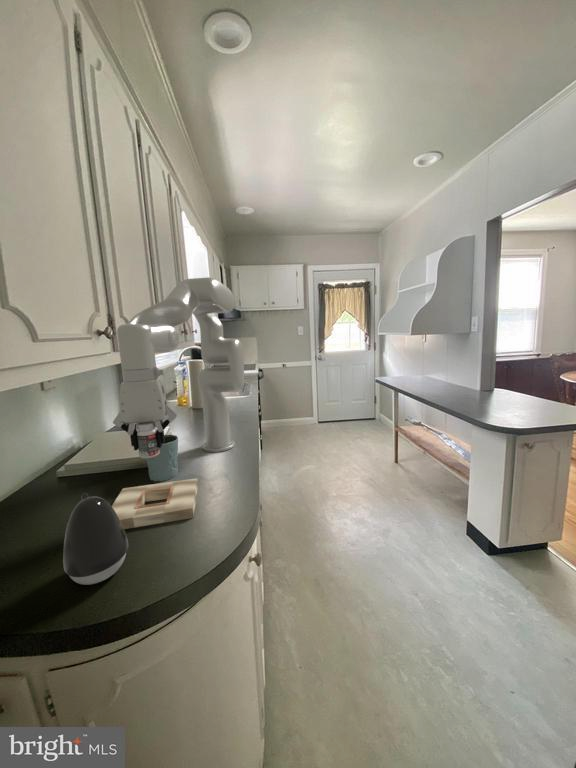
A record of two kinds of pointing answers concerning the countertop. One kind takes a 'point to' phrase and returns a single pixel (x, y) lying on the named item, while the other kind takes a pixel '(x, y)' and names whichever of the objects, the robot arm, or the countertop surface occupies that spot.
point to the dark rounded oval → (93, 541)
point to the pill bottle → (147, 439)
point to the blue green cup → (165, 460)
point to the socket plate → (139, 514)
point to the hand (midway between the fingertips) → (148, 446)
